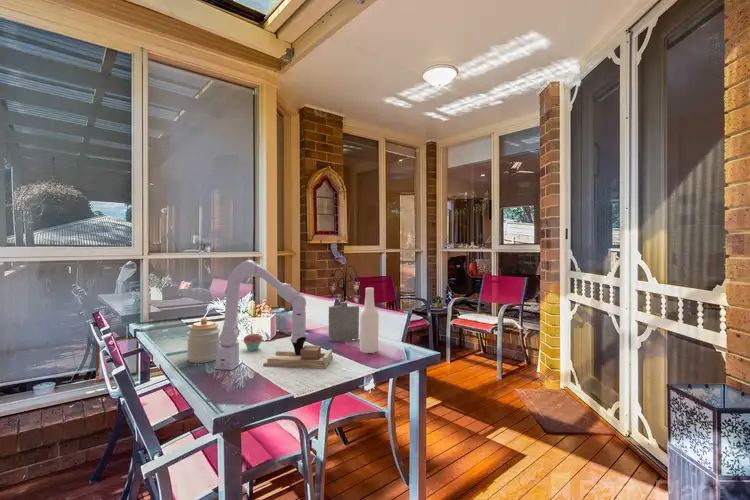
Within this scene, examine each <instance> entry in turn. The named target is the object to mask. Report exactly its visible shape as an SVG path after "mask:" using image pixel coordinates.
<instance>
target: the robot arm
mask: <svg viewBox="0 0 750 500" xmlns="http://www.w3.org/2000/svg"><path fill="white" fill-rule="evenodd" d="M251 276H253V277H254V278H261V279H263V280H264V281H265V282H267V283H268V284H269V285H271V286H272V288H273V287H274V288H275V290H276V293H277V295H278V296H279V297H281V298H282V299H283V300H285V301H286V302H287V303H290V304H291V307H292V312H291V335H290V336H291V337H290V343H291V344H292V346H293V350H294V352H295V354H296V355H300V350H301V349H302V348H303V347H304V346H305V342H306V340H307V337H308V336H309V333H308V332H307V331H306V323H307V322H306V320H307V319H306V314H307V313H306V306H307V302H306V298H305V296H304V295H303V294H302V293H301V292H300V291H297V290H296V289H294V288H293V287H292V284H291V283H287V282H284V283H283V282H281V281H280V280H279V279H278V278H276V277H275V276H274V275H273V274H271V272H270V271H269V270H267V269H266V268H265V267H263V266H262V265H260V264H259V263H256V261H254V260H252V259H247V260H245V261H243V262H241V263H239V264H238V265H237V266H236V267H235V268H234V269H233V271H232V272H231V273H230V274H229V275H228V277H227V284H226V285H227V286H226V297H225V309H224V311H225V312H224V322H223V325H222V329H221V330H222V331H221V333H219V339H220V348H219V350H218V351H217V352H216V360H215V366H214V367H213V369H214V370H228V371H229V370H230V371H233V370H234V369H236V368H237V367H238V366H240V365H241V364H243V362H244V361H243V360H240V341H239V339H238V337H239V335H240V330H239V327H238V325H239V324H238V312H239V300H240V299H239V298H240V286H241V285H240V284H241V282H242V281H244V280H245V279H247V278H249V277H251Z"/></svg>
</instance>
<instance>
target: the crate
mask: <svg viewBox="0 0 750 500" xmlns="http://www.w3.org/2000/svg"><path fill="white" fill-rule="evenodd" d="M321 353H322V345H314V344H313V345H312V344H311V345H309V344H304V345H303V348H302V349H301V350H300V359H302V360H319V359H320V358H321Z"/></svg>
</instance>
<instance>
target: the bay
mask: <svg viewBox="0 0 750 500" xmlns="http://www.w3.org/2000/svg"><path fill="white" fill-rule="evenodd" d="M332 360H333V349H328V350H327V351H326V352H321V358H320V359H319V360H302V359H300V355H296V354H295V351H284V350H283V351H282V350H276V351H275V352H274V354H273V355H271V357H268V358H266V360H265V362H263V363H262V364H263V365H262V366H263V367H276V366H279V367H281V368H299V367H304V368H305V369H322V368H326V369H327V367H328V366H329V364H330V363H331V361H332ZM329 362H330V363H329ZM327 365H328V366H327Z"/></svg>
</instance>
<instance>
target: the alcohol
mask: <svg viewBox="0 0 750 500" xmlns="http://www.w3.org/2000/svg"><path fill="white" fill-rule="evenodd" d="M364 289H365V297H364V306H363V307H362V309H361V311H360V312H359V350H360V352H361V353H362V354H367V355H368V353H372V354H376V353H378V351H379V324H380V323H379V322H380V321H379V317H380V314H379V311H378V310H377V308H376V306H375V293H374V292H375V291H374V290H375V288H374V287H370V286H369V287H366V288H364ZM375 352H376V353H375Z"/></svg>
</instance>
